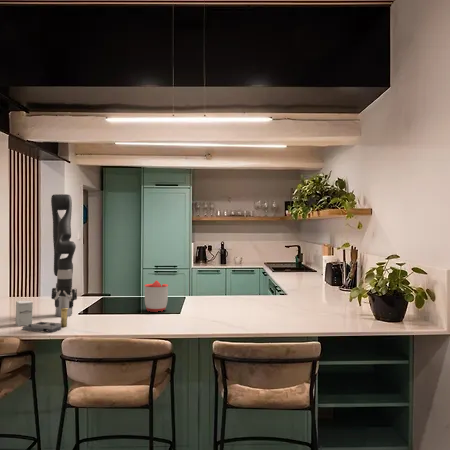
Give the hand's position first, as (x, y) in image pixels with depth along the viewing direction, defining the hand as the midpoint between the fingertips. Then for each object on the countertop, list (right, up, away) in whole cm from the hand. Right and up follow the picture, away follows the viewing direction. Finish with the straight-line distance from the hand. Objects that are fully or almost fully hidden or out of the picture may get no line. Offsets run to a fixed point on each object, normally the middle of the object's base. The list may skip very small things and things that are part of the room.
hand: (63, 307), depth 228 cm
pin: (0, -11, 0) cm, 11 cm away
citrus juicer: (+42, -12, +49) cm, 66 cm away
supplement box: (-24, -10, +4) cm, 26 cm away
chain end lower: (-12, -10, -6) cm, 17 cm away
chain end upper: (-6, -10, -7) cm, 14 cm away
